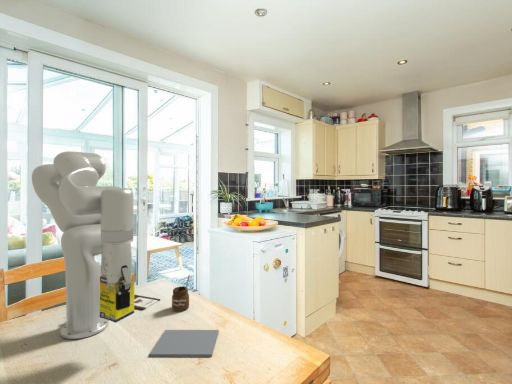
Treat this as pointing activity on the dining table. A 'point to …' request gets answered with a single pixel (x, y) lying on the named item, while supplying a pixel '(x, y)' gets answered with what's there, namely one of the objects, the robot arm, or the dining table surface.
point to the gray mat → (186, 343)
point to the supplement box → (114, 300)
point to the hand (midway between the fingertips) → (117, 302)
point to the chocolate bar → (144, 302)
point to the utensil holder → (180, 298)
